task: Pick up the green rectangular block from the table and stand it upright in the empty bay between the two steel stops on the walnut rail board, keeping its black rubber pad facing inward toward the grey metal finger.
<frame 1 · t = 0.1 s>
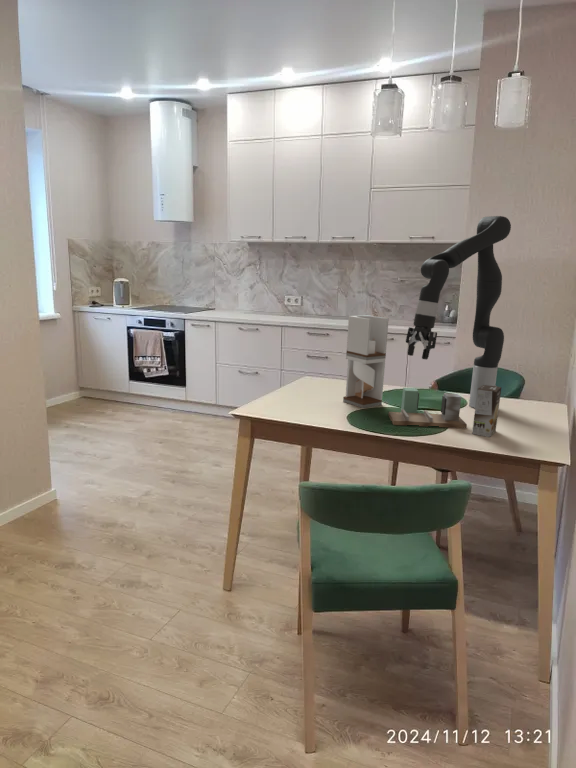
hand: (417, 357, 208), 22 cm above the table, tool pointing down, fingers open, 8 cm apart
coffee box: (483, 433, 195), on the table
finger rail: (426, 421, 205), on the table
white dispenser tower: (362, 403, 227), on the table
green rectangular block: (408, 411, 217), on the table
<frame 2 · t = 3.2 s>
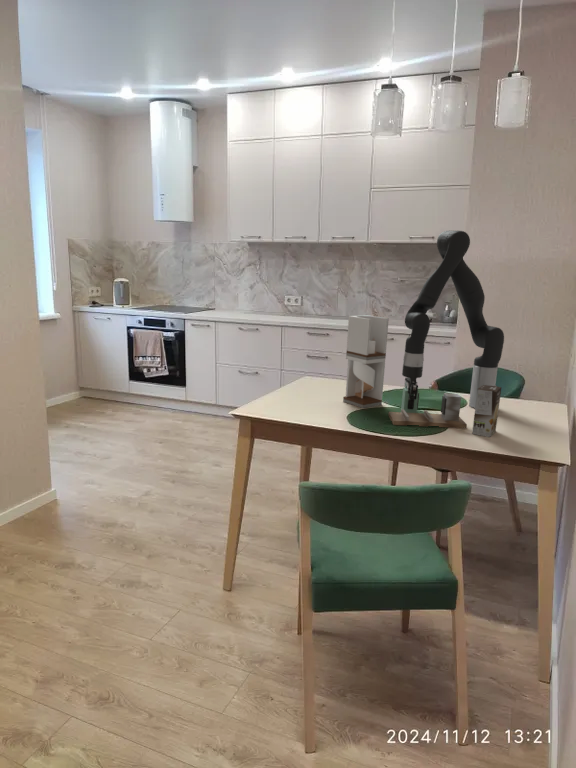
hand: (409, 406, 217), 2 cm above the table, tool pointing down, fingers closed on green rectangular block, 5 cm apart
green rectangular block: (408, 411, 217), on the table, touching gripper
everything else where it was.
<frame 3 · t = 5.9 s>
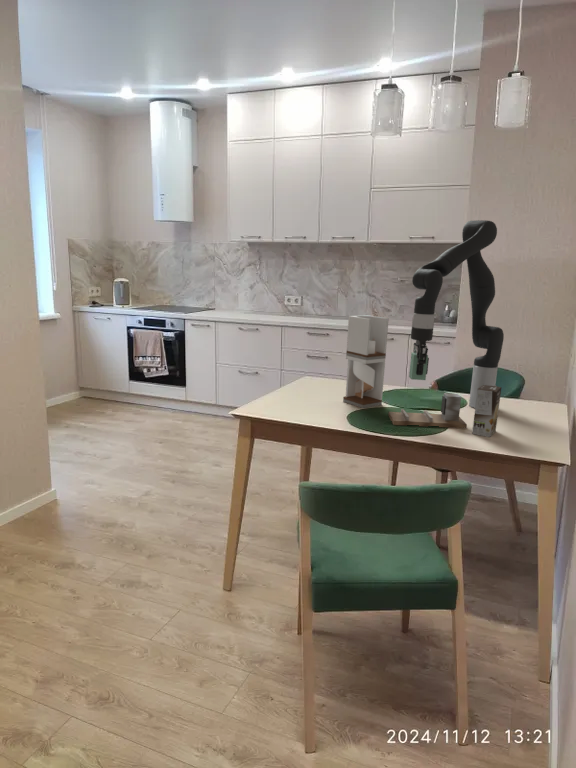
hand: (417, 373, 202), 18 cm above the table, tool pointing down, fingers closed on green rectangular block, 5 cm apart
green rectangular block: (417, 378, 202), point 16 cm above the table, touching gripper
everything else where it was.
when the fingers open (5 cm above the table, at t = 8.9 s): green rectangular block drops 1 cm, resting on finger rail.
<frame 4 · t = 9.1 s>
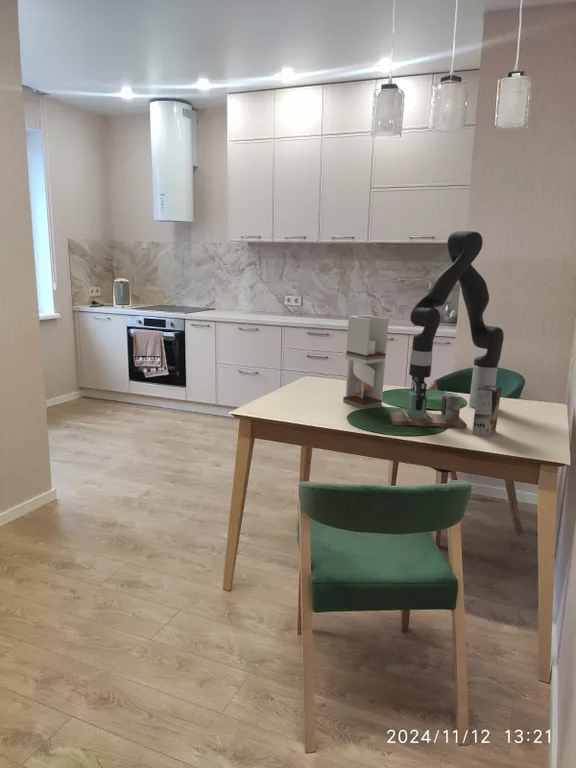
hand: (416, 407, 203), 5 cm above the table, tool pointing down, fingers open, 7 cm apart
green rectangular block: (415, 417, 204), point 1 cm above the table, touching finger rail
everything else where it was.
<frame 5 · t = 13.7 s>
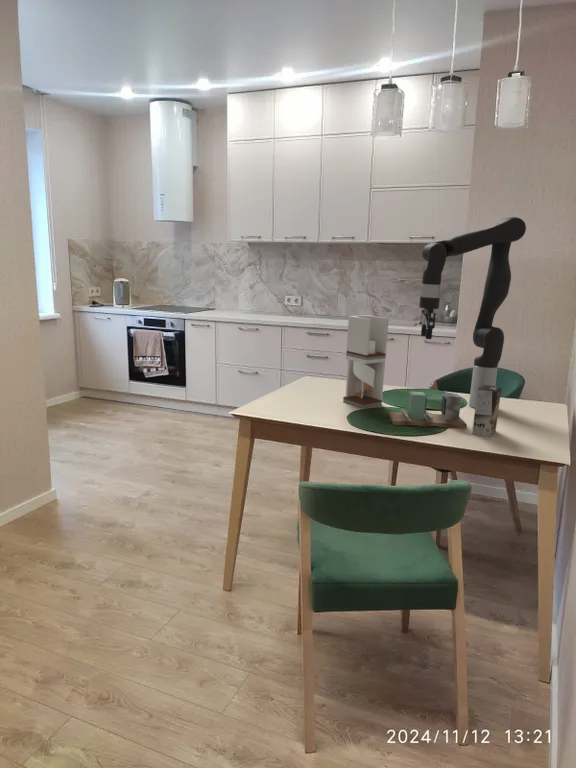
hand: (426, 337, 220), 28 cm above the table, tool pointing down, fingers open, 8 cm apart
nothing on the table moved.
at the end: green rectangular block 0.0 cm from the target spot, point 1.5 cm above the table; green rectangular block tilted 0°; the gripper is holding nothing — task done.
